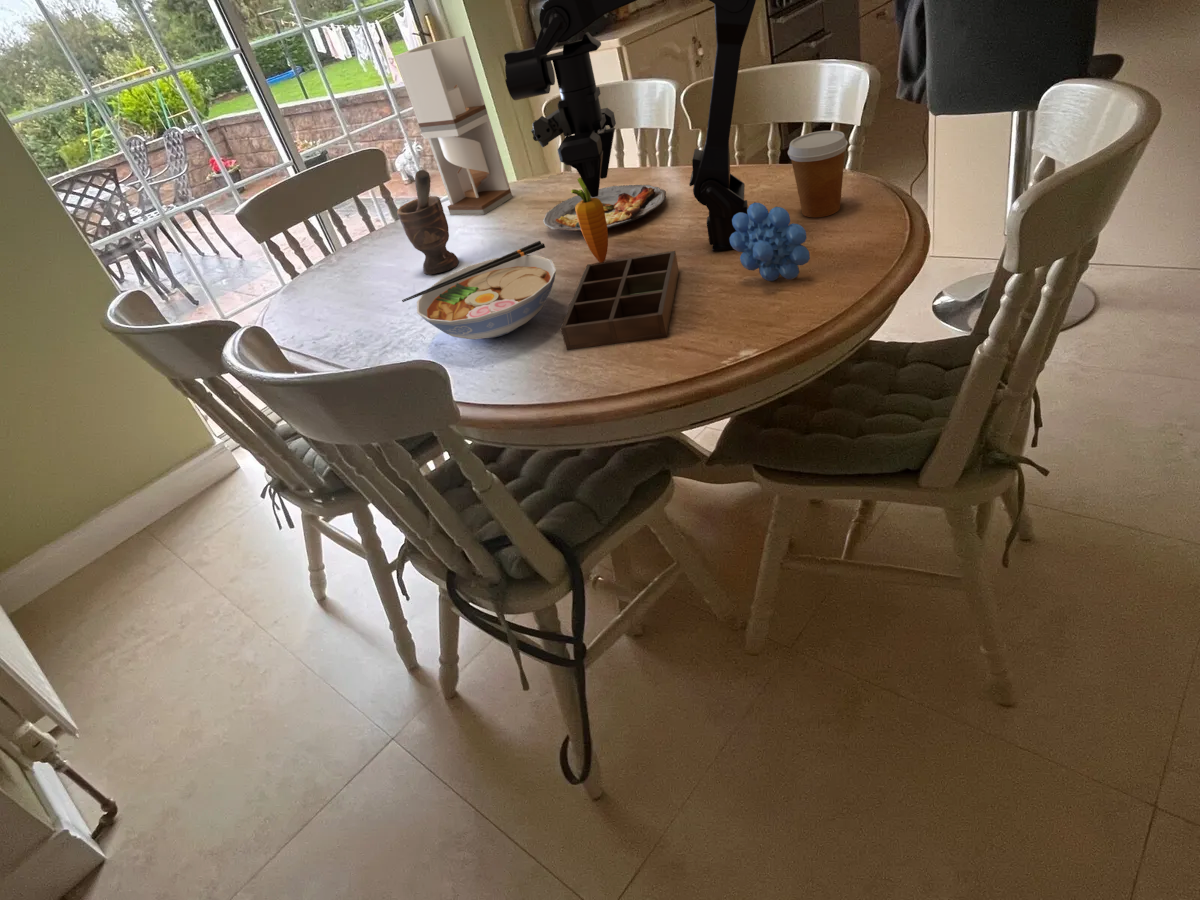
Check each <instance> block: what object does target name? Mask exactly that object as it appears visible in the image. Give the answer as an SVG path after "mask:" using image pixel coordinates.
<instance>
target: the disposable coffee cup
mask: <svg viewBox="0 0 1200 900" xmlns="http://www.w3.org/2000/svg"><path fill="white" fill-rule="evenodd" d="M848 143H849V142H848V140H847V138H846V135H845V133H844V132H843V131H840V130H833V129H832V130H818V131H814V132H809V133H806V134H803V135H800V136H797V137H795V138H794V139H792V140H791V141H790V143H789V147H788V150H787V155H788V157H789V159H790V161H791V166H792V170H793V173H794V174H793V175H794V179H795V180H794V181H795V184H796V191H797V195H798V200H799V204H800V208H801V214H802V215H803V216H805V217H807V218H823V217H827V216H831V215H834V214H836V213H837V212H839V211H840V210H841V203H842V202H841V200H842V189H843V179H844V178H843V177H844V167H845V165H844V164H845V155H846V154H845V151H846V150H847V146H848Z"/></svg>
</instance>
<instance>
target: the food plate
mask: <svg viewBox="0 0 1200 900" xmlns="http://www.w3.org/2000/svg"><path fill="white" fill-rule="evenodd" d="M584 194H585V193H584ZM666 195H667V191H666V190H665V189H663V188H660V187H659V186H653V185H650V184H626V185H625V184H621V185H612V186H607V187H601V188H599V194H598V196H597V197H591V198H598V199H599V200H600V201H601V202H602V204H603V208H604V213H605V218H606V223H607V229H611V228H614V227H617V226H621V225H624V224H628V223H631V222H634V221H635V220H638V219H640V218H644V217H645V216H647V214H649V213H651V212H652V211H654V210H655V209H657V208H658V207H659V206H662V205H663V204H664V203H665V201H666V199H667V196H666ZM580 201H582V198H581V197H580V196H578V195H575V196H572V197H570V198H567V199H566V200H562V201H560V202H559V203H558V204H556V205H554V207H552V208H551V209H549V210H548V211H547V212H546V213H545V215H544V218H543V225H544V226H545V227H547V228H549V229H551V230H561V231H562V230H565V231H570V232H571V231H573V232H574V231H581V228H580V225H579V222H578V218H577V215H576V211H575V206H576V205H577V204H578V203H579V202H580Z"/></svg>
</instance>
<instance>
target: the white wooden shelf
mask: <svg viewBox="0 0 1200 900" xmlns="http://www.w3.org/2000/svg"><path fill="white" fill-rule="evenodd" d="M469 49H470V48H469V46H468V43H467V40H466V36H465V35H463V36H458V37H452V38H448V39H447V38H446V39H443V40H436V41H431V42H428V43H427V42H426V43H425V44H422V45H419V46H417V47H415V48H412V49H409V50H407V51H404V52H402V53H399V54H396V55H394V59H395V62H396V64H397V67H398V71H399V73H400V76H401V78H402V81H403V84H404V87H405V90H406V93H407V96H408V99H409V101H410V105H411V107H412V110H413V113H414V116H415V118H416V122H417V124H418V127H419V130H420V132H421V135H422V138H423V140H425V139H427V141H428V144H429V147H430V149H431V152H432V155H433V158H434V161H435V164H436V167H437V171H438V172H439V175H440V178H441V181H442V184H443V186H444V189H445V192H446V196H447V198H448V202H449V204H448V205H447V209H448V212H449V215H450V216H474V215H475V216H485V215H486V214H488V213H490V212H491V211H493V210H494V209H496V208H497V207H499V206H501V205H502V204H504V203H506V202H507V201H508V200H510V199H512V198H513V194H512V191H511V186H510V183H509V180H508V177H507V173H506V170H505V167H504V164H503V159H502V156H501V153H500V150H499V145H498V144H497V140H496V136H495V133H494V130H493V126H492V124H491V120H490V116H489V113H488V110H487V107H486V104H485V99H484V95H483V93H482V89H481V85H480V83H479V79H478V76H477V73H476V69H475V66H474V63H473V59H472V56H471V52H470V50H469Z"/></svg>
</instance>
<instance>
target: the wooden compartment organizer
mask: <svg viewBox="0 0 1200 900" xmlns="http://www.w3.org/2000/svg"><path fill="white" fill-rule="evenodd" d="M679 272H680V269H679V263H678V259H677V252H676V250H670V251H665V252H658V253H657V252H656V253H651V254H645V255H639V256H633V257H626V258H620V259H614V260H607V261H604V262H595V263H589V264H587V265H586V266H585V268H584V271H583V273H582V275H581V278H580V279H579V280H580V281H579V282H578V286H577V288H576V290H575V293H574V294H573V297H572V300H571V302H570V305H569V306H568V309H567V312H566V314H565V317H564V319H563V321H562V323H561V326H560V331H561V336H562V338H563V343H564V345H565V348H566V350H574V349H582V348H583V349H584V348H591V347H598V346H606V345H615V344H622V343H630V342H638V341H645V340H653V339H654V340H655V339H661V338H667V337H668V331H669V326H670V322H671V316H672V310H673V306H674V299H675V295H676V290H677V289H676V288H677V283H678V278H679Z"/></svg>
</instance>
